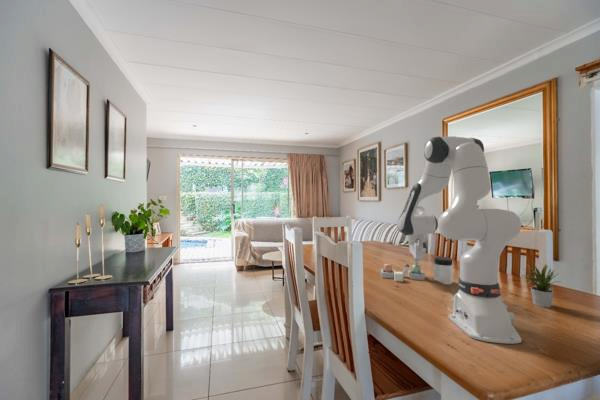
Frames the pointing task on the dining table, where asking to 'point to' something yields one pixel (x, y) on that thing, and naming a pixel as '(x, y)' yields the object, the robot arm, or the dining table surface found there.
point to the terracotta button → (387, 267)
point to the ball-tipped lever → (405, 269)
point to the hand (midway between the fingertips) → (416, 264)
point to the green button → (416, 269)
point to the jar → (443, 270)
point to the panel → (410, 274)
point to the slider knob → (398, 276)
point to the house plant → (541, 287)
